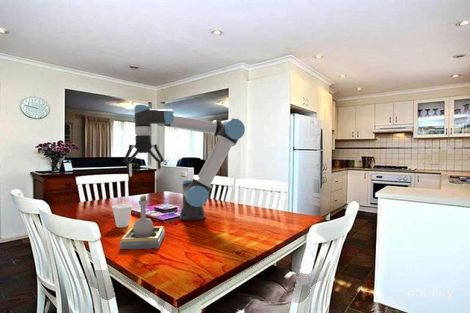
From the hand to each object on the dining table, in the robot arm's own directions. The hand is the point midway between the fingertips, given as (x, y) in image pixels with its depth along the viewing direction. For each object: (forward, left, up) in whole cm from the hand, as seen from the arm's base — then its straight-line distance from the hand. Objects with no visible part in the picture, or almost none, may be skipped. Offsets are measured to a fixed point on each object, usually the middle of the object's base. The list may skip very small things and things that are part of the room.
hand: (144, 175), depth 136 cm
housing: (-4, +20, -28) cm, 34 cm away
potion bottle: (-4, +20, -25) cm, 32 cm away
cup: (+13, -5, -28) cm, 31 cm away
